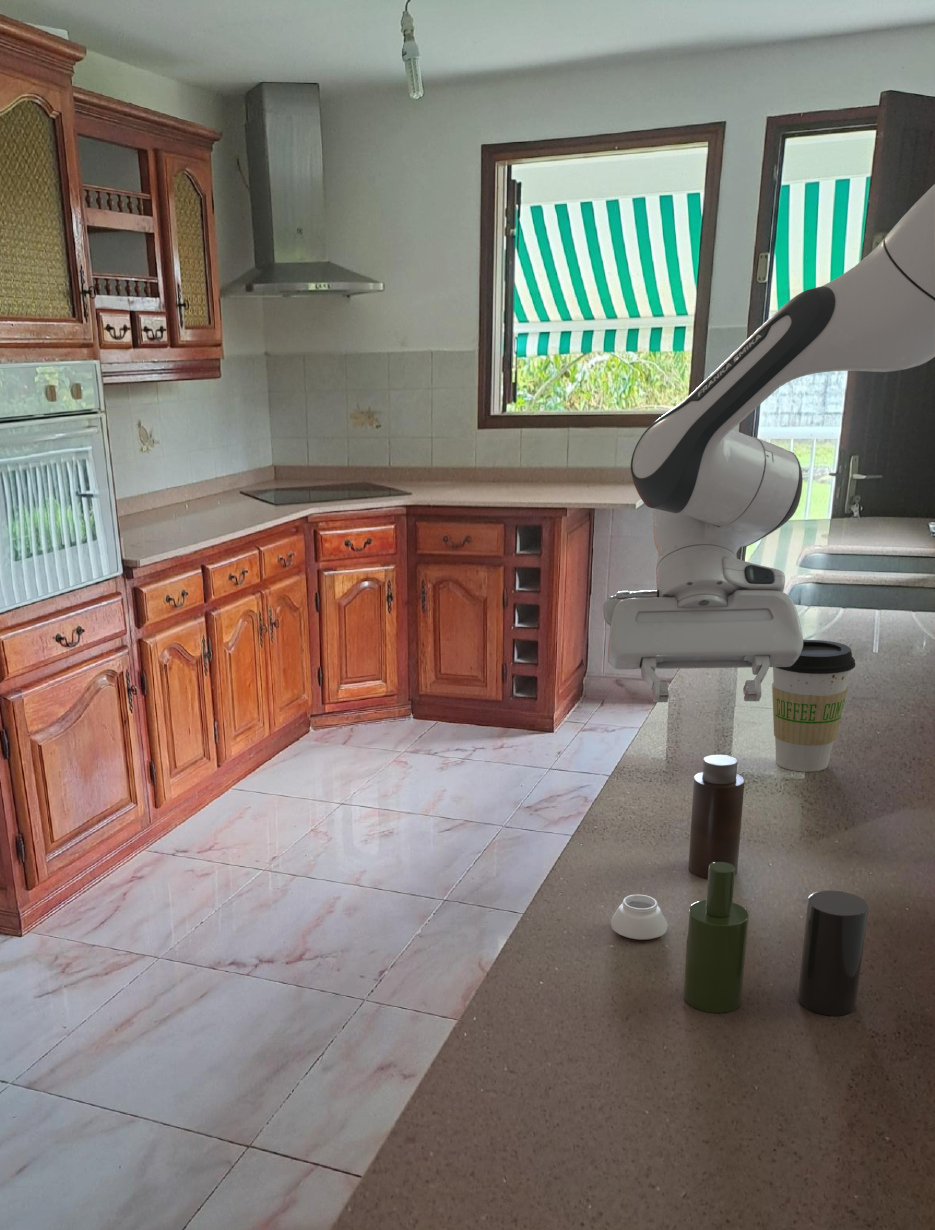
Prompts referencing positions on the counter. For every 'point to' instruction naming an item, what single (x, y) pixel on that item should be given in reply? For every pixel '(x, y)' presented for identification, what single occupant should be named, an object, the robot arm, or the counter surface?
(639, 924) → the white jar
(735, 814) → the pepper mill
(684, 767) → the counter surface
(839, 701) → the coffee cup
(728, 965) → the oil cruet
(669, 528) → the robot arm
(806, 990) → the dark grey cylinder
